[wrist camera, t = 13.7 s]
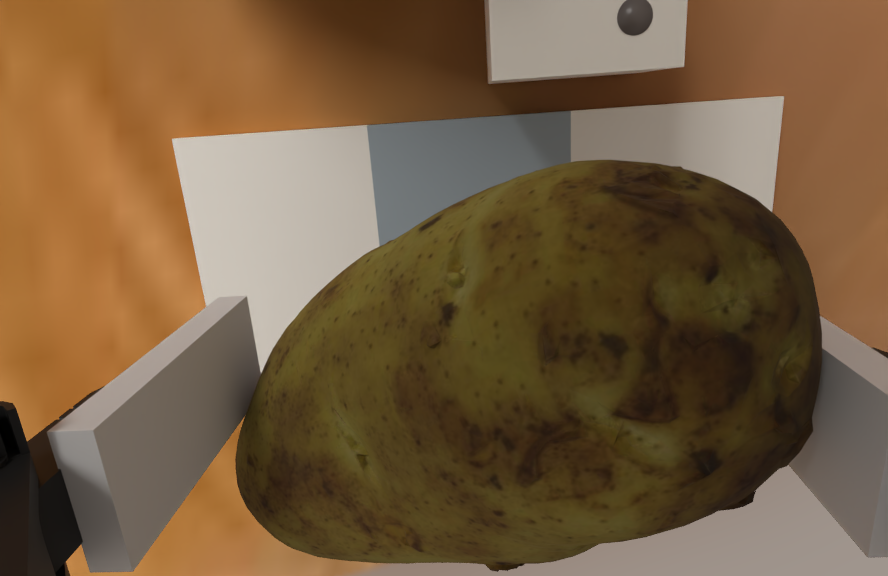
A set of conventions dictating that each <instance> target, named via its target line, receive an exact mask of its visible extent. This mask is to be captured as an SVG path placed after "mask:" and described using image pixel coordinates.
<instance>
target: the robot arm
mask: <svg viewBox="0 0 888 576" xmlns="http://www.w3.org/2000/svg"><path fill="white" fill-rule="evenodd" d="M820 321H821V329H822V366H821V374H820V382H819V389H818V393H817V398H816V402H815V407H814V411H813V415H812V423H813V432H812V434H811V435H810V437H809V439H808V440H807V442H806V443H805V445H804V446H803V448H802V450H801V451H800V453H799V454H798V455H797V456H796V457H795V458H794V459H793V460H792V461H791V462H790V463H789V464H788V465H789V466H790V467H791V468H792V469H793V471H794V472H795V473H796V474H797V475H798V476H799V478H800V479H801V480H802V481H803V482H804V483H805V485H806V486H807V487H808V488H809V489H810V490H811V492H812V493H813V494H814V495H815V496H816V497H817V499H818V500H819V501H820V502H821V503H822V504H823V506H824V507H825V508H826V509H827V510H828V511H829V512H830V514H831V515H832V516H833V517H834V518H835V520H836V521H837V522H838V523H839V524H840V525H841V527H842V528H843V529H844V530H845V531H846V532H847V534H848V535H849V536H850V537H851V538H852V539H853V541H854V542H855V543H856V544H857V545H858V547H859V548H860V549H861V550H862V551H863V552H864V553H865V555H866V556H867V557H888V353H887V352H884V351H881V350H879V349H876V348H871V347H869V346H867V345H866V344H864V343H863V342H861V341H859V340H858V339H856V338H855V337H853V336H852V335H850V334H848V333H847V332H845V331H844V330H842V329H840V328H839V327H837V326H836V325H834V324H833V323H831V322H829V321H828V320H826V319H825V318H823V317H821V316H820ZM260 375H261V372H260V366H259V361H258V355H257V350H256V344H255V338H254V333H253V327H252V322H251V316H250V311H249V305H248V299H247V296H232V297H218V298H217V299H216V300H214V301H213V302H212V303H211V304H209V305H208V306H207V307H206V308H204V309H203V310H202V311H200V312H199V313H198V314H197V315H195V316H194V317H193V318H191V319H190V320H189V321H188V322H186V323H185V324H184V325H183V326H181V327H180V328H179V329H177V330H176V331H175V332H174V333H172V334H171V335H170V336H168V337H167V338H166V339H165V340H163V341H162V342H161V343H160V344H158V345H157V346H156V347H154V348H153V349H152V350H151V351H149V352H148V353H147V354H145V355H144V356H143V357H142V358H140V359H139V360H138V361H137V362H135V363H134V364H133V365H131V366H130V367H129V368H128V369H126V370H125V371H124V372H123V373H121V374H120V375H119V376H117V377H116V378H115V379H114V380H112V381H111V382H110V383H108V384H107V385H106V386H104V387H102V388H100V389H98V390H96V391H94V392H92V393H90V394H89V395H87V396H86V397H85V398H83V399H82V400H81V401H79V402H78V403H77V404H76V405H74V406H73V407H74V408H73V409H69V410H68V411H67V412H65V413H64V414H63V415H61V416H60V417H59V420H55V421H54V422H52V423H51V424H50V425H48V426H47V427H46V428H44V429H43V430H42V431H41V432H39V433H38V434H37V435H35V436H34V437H33V438H32V439H30V440H29V441H28V442H27V441H26V438H25V435H24V432H23V429H22V426H21V422H20V419H19V416H18V413H17V410H16V408H15V406H14V405H13V403H8V402H3V401H1V402H0V576H70V574H69V571H68V568H67V565H66V561H67V559H68V558H69V557H70V556H71V555H72V554H73V553H74V551H75V550H76V549H77V548H78V547H79V546H80V545H81V544H82V548H83V551H84V554H85V557H86V561H87V564H88V567H89V570H90V572H133V571H134V569H135V568H136V567H137V565H138V564H139V562H140V561H141V560H142V558H143V557H144V555H145V554H146V553H147V551H148V550H149V548H150V547H151V546H152V544H153V543H154V541H155V540H156V539H157V537H158V536H159V535H160V533H161V532H162V530H163V529H164V528H165V526H166V525H167V523H168V522H169V521H170V519H171V518H172V516H173V515H174V514H175V512H176V511H177V509H178V508H179V507H180V505H181V504H182V503H183V501H184V500H185V498H186V497H187V496H188V494H189V493H190V491H191V490H192V489H193V487H194V486H195V484H196V483H197V482H198V480H199V479H200V478H201V476H202V475H203V473H204V472H205V471H206V469H207V468H208V466H209V465H210V464H211V462H212V461H213V459H214V458H215V457H216V455H217V454H218V452H219V451H220V450H221V448H222V447H223V446H224V444H225V443H226V441H227V440H228V439H229V437H230V436H231V434H232V433H233V432H234V430H235V429H236V427H237V426H238V425H239V423H240V422H241V420H242V419H243V418H244V416H245V415H246V413H247V410H248V407H249V404H250V402H251V399H252V396H253V393H254V391H255V388H256V385H257V383H258V380H259V378H260Z"/></svg>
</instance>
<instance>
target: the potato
mask: <svg viewBox="0 0 888 576" xmlns="http://www.w3.org/2000/svg"><path fill="white" fill-rule="evenodd" d="M821 366H822V329H821V321H820V313H819V307H818V302H817V297H816V292H815V287H814V282H813V277H812V274H811V270H810V267H809V264H808V262H807V260H806V258H805V256H804V254H803V251H802V249H801V248H800V246H799V244H798V242H797V241H796V239H795V237H794V236H793V234H792V233H791V232H790V231H789V229H788V228H787V227H786V226H785V224H784V223H783V222H782V221H781V220H780V219H779V218H778V217H777V216H776V215H775V214H773V213H772V212H771V211H770V210H769V209H768V208H766V207H765V206H764V205H763V204H762V203H761V202H759V201H758V200H757V199H755V198H753V197H752V196H750V195H748V194H746V193H744V192H742V191H740V190H738V189H736V188H734V187H732V186H730V185H728V184H726V183H724V182H722V181H720V180H718V179H716V178H712V177H709V176H706V175H703V174H700V173H697V172H693V171H690V170H686V169H683V168H682V167H681V166H668V165H663V164H657V163H647V162H634V161H621V160H586V161H575V162H569V163H564V164H559V165H555V166H551V167H548V168H544V169H541V170H536V171H534V172H531V173H528V174H525V175H522V176H518V177H516V178H513V179H511V180H509V181H506V182H504V183H501V184H498V185H495V186H493V187H490V188H488V189H486V190H483V191H481V192H479V193H477V194H474V195H472V196H470V197H468V198H466V199H464V200H462V201H459V202H457V203H455V204H453V205H451V206H449V207H447V208H446V209H444V210H442V211H440V212H438V213H436V214H434V215H433V216H431V217H429V218H428V219H426V220H424V221H423V222H421V223H420V224H418V225H416V226H415V227H413V228H412V229H411V230H409V231H408V232H406V233H404V234H402V235H401V236H399V237H398V238H396V239H394V240H391V241H388V242H387V243H386V244H384V245H382V246H380V247H377V248H375V249H373V250H371V251H370V252H368V253H366V254H365V255H363V256H362V257H360V258H359V259H358V260H356V261H355V262H354V263H352V264H351V265H349V266H348V267H347V268H346V269H345V270H343V271H342V272H341V273H340V274H338V275H337V276H336V277H335V278H334V279H333V280H332V281H330V282H329V283H328V284H327V285H326V286H325V287H324V288H323V289H321V290H320V291H319V292H318V293H317V294H316V295H315V296H314V297H313V298H312V299H311V300H310V301H309V302H308V304H307V305H306V306H305V307H304V308H303V309H302V310H301V311H300V312H299V314H298V315H297V316H296V318H295V319H294V320H293V321H292V322H291V323H290V324H289V325H288V327H287V328H286V329H285V331H284V332H283V334H282V335H281V337H280V338H279V340H278V341H277V343H276V345H275V346H274V348H273V349H272V351H271V353H270V355H269V357H268V359H267V362H266V364H265V366H264V368H263V371H262V373H261V375H260V378H259V380H258V383H257V385H256V388H255V391H254V393H253V396H252V399H251V402H250V404H249V407H248V410H247V413H246V416H245V419H244V422H243V425H242V427H241V431H240V435H239V439H238V444H237V452H236V474H237V483H238V487H239V490H240V493H241V496H242V498H243V500H244V502H245V504H246V506H247V508H248V509H249V511H250V512H251V513H252V515H253V516H254V517H255V518H256V520H257V521H258V522H259V523H260V524H261V525H262V526H263V527H264V528H265V529H266V530H267V531H268V532H269V533H270V534H272V535H273V536H274V537H275V538H276V539H278V540H279V541H281V542H282V543H284V544H285V545H287V546H289V547H291V548H293V549H296V550H299V551H302V552H305V553H308V554H311V555H314V556H317V557H323V558H330V559H338V560H347V561H359V562H373V563H431V562H433V563H434V562H441V563H443V562H450V563H451V562H453V563H458V562H459V563H478V564H485V565H486V566H487V567H488V568H489V569H490V570H492V571H499V570H507V571H508V570H510V569H514V568H517V567H518V566H522V565H524V564H525V563H544V562H553V561H557V560H561V559H564V558H568V557H572V556H575V555H577V554H580V553H582V552H585V551H587V550H588V549H591V548H592V547H594V546H596V545H598V544H601V543H611V542H621V541H627V540H632V539H638V538H643V537H647V536H651V535H654V534H657V533H661V532H664V531H668V530H671V529H675V528H678V527H682V526H685V525H687V524H690V523H692V522H694V521H696V520H699V519H701V518H704V517H706V516H708V515H711V514H713V513H715V512H716V511H718V510H729V509H735V508H739V507H743V506H745V505H747V504H749V503H751V502H753V498H754V494H755V492H756V491H755V490H756V489H757V488H758V487H759V486H760V485H762V484H763V483H764V482H765V481H766V480H767V479H768V478H769V477H770V476H771V475H772V474H773V473H774V472H776V471H777V470H778V469H779V468H782V467H785V466H787V465H788V464H789V463H790V462H791V461H792V460H793V459H794V458H795V457H796V456H797V455H798V454H799V453H800V451H801V450H802V448H803V446H804V445H805V443H806V442H807V440H808V439H809V437H810V435H811V434H812V432H813V423H812V415H813V411H814V407H815V402H816V398H817V393H818V389H819V382H820V374H821ZM754 491H755V492H754Z"/></svg>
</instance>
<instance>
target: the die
mask: <svg viewBox="0 0 888 576" xmlns="http://www.w3.org/2000/svg"><path fill="white" fill-rule="evenodd" d="M687 2H688V0H484V3H485V26H486V49H487V72H488V84H496V83H510V82H524V81H537V80H551V79H564V78H578V77H592V76H605V75H619V74H632V73H641V72H649V71H656V70H664V69H671V68H678V67H684V60H685V41H686V22H687Z"/></svg>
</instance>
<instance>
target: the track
mask: <svg viewBox="0 0 888 576" xmlns="http://www.w3.org/2000/svg"><path fill="white" fill-rule="evenodd" d="M783 102H784V96H773V97H758V98H744V99H730V100H716V101H701V102H687V103H673V104H659V105H644V106H630V107H616V108H602V109H587V110H573V111H559V112H545V113H530V114H516V115H502V116H488V117H473V118H459V119H445V120H431V121H416V122H402V123H388V124H374V125H359V126H345V127H331V128H317V129H302V130H288V131H274V132H260V133H245V134H231V135H217V136H203V137H188V138H176V139H172V142H173V147H174V152H175V157H176V162H177V167H178V172H179V176H180V181H181V186H182V191H183V196H184V201H185V206H186V211H187V215H188V220H189V225H190V230H191V235H192V240H193V245H194V250H195V254H196V259H197V264H198V269H199V274H200V279H201V284H202V288H203V293H204V298H205V303H206V307H207V306H208V305H209V304H211V303H212V302H213V301H214V300H216V299H217V298H218V297H232V296H247V299H248V305H249V311H250V316H251V322H252V327H253V333H254V338H255V344H256V350H257V355H258V361H259V366H260V372H261V373H262V371H263V368H264V366H265V364H266V362H267V359H268V357H269V355H270V353H271V351H272V349H273V348H274V346H275V345H276V343H277V341H278V340H279V338H280V337H281V335H282V334H283V332H284V331H285V329H286V328H287V327H288V325H289V324H290V323H291V322H292V321H293V320H294V319H295V318H296V316H297V315H298V314H299V312H300V311H301V310H302V309H303V308H304V307H305V306H306V305H307V304H308V302H309V301H310V300H311V299H312V298H313V297H314V296H315V295H316V294H317V293H318V292H319V291H320V290H321V289H323V288H324V287H325V286H326V285H327V284H328V283H329V282H330V281H332V280H333V279H334V278H335V277H336V276H337V275H338V274H340V273H341V272H342V271H343V270H345V269H346V268H347V267H348V266H349V265H351V264H352V263H354V262H355V261H356V260H358V259H359V258H360V257H362V256H363V255H365V254H366V253H368V252H370V251H371V250H373V249H375V248H377V247H380V246H382V245H384V244H386V243H387V242H388V241H391V240H394V239H396V238H398V237H399V236H401V235H402V234H404V233H406V232H408V231H409V230H411V229H412V228H413V227H415V226H416V225H418V224H420V223H421V222H423V221H424V220H426V219H428V218H429V217H431V216H433V215H434V214H436V213H438V212H440V211H442V210H444V209H446V208H447V207H449V206H451V205H453V204H455V203H457V202H459V201H462V200H464V199H466V198H468V197H470V196H472V195H474V194H477V193H479V192H481V191H483V190H486V189H488V188H490V187H493V186H495V185H498V184H501V183H504V182H506V181H509V180H511V179H513V178H516V177H518V176H522V175H525V174H528V173H531V172H534V171H536V170H541V169H544V168H548V167H551V166H555V165H559V164H564V163H569V162H575V161H586V160H621V161H634V162H647V163H657V164H663V165H668V166H681V167H682V168H683V169H686V170H690V171H693V172H697V173H700V174H703V175H706V176H709V177H712V178H716V179H718V180H720V181H722V182H724V183H726V184H728V185H730V186H732V187H734V188H736V189H738V190H740V191H742V192H744V193H746V194H748V195H750V196H752V197H753V198H755V199H757V200H758V201H759V202H761V203H762V204H763V205H764V206H765V207H766V208H768V209H769V210H770V211H771V212H772V209H773V199H774V190H775V180H776V170H777V161H778V151H779V141H780V131H781V122H782V112H783Z"/></svg>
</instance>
